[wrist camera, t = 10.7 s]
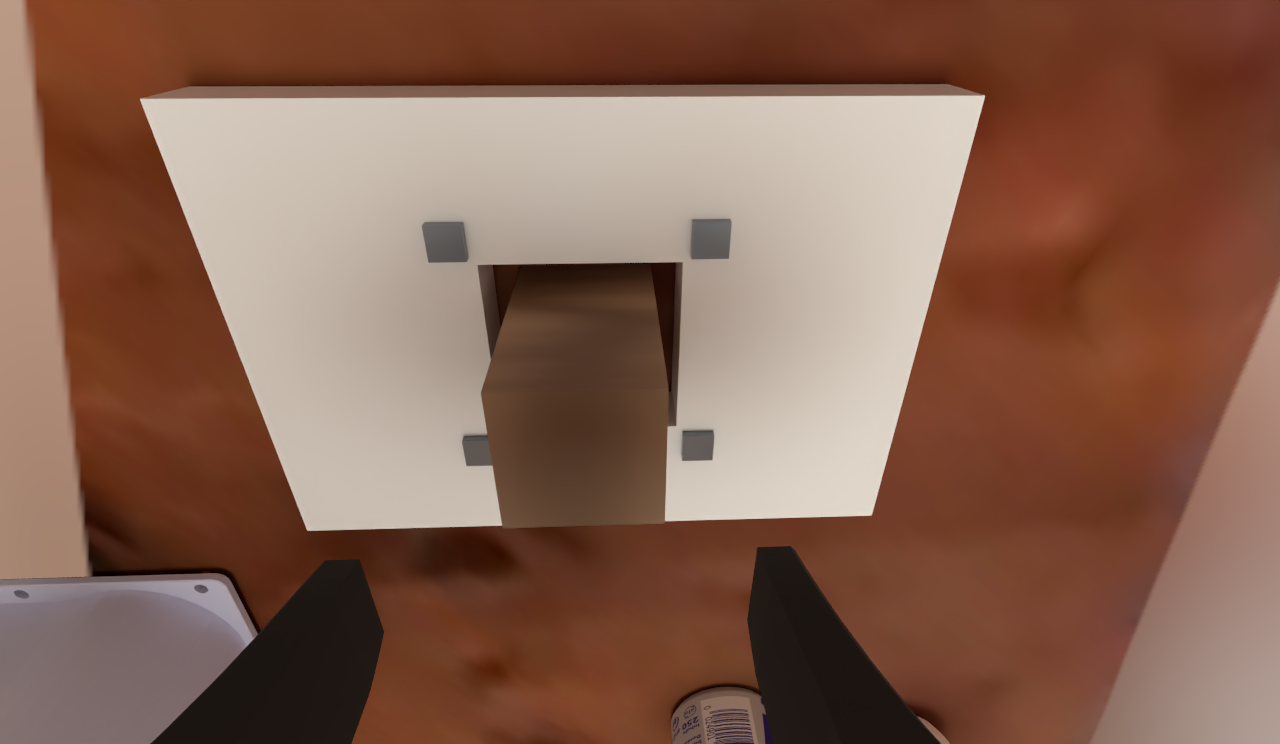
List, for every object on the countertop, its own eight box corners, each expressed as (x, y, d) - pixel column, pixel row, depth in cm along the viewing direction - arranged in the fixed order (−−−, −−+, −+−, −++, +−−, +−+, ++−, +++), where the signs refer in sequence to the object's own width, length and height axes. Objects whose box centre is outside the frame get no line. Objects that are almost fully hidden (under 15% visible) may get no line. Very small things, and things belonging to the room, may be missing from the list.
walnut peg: (532, 376, 21) (502, 528, 15) (520, 265, 19) (480, 392, 13) (649, 373, 22) (664, 523, 16) (650, 263, 19) (668, 388, 13)
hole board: (329, 491, 24) (303, 537, 22) (189, 86, 16) (131, 100, 14) (853, 478, 24) (874, 521, 22) (947, 84, 17) (991, 97, 15)
